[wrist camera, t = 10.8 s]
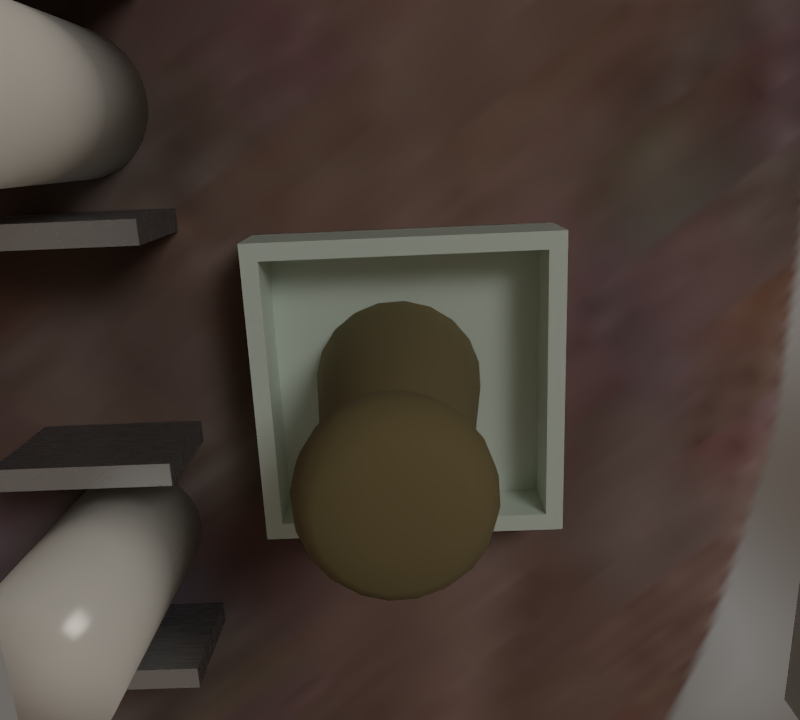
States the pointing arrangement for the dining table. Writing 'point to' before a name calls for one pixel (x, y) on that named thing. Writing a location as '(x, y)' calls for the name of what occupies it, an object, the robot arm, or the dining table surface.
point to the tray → (448, 294)
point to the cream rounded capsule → (94, 599)
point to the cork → (396, 456)
